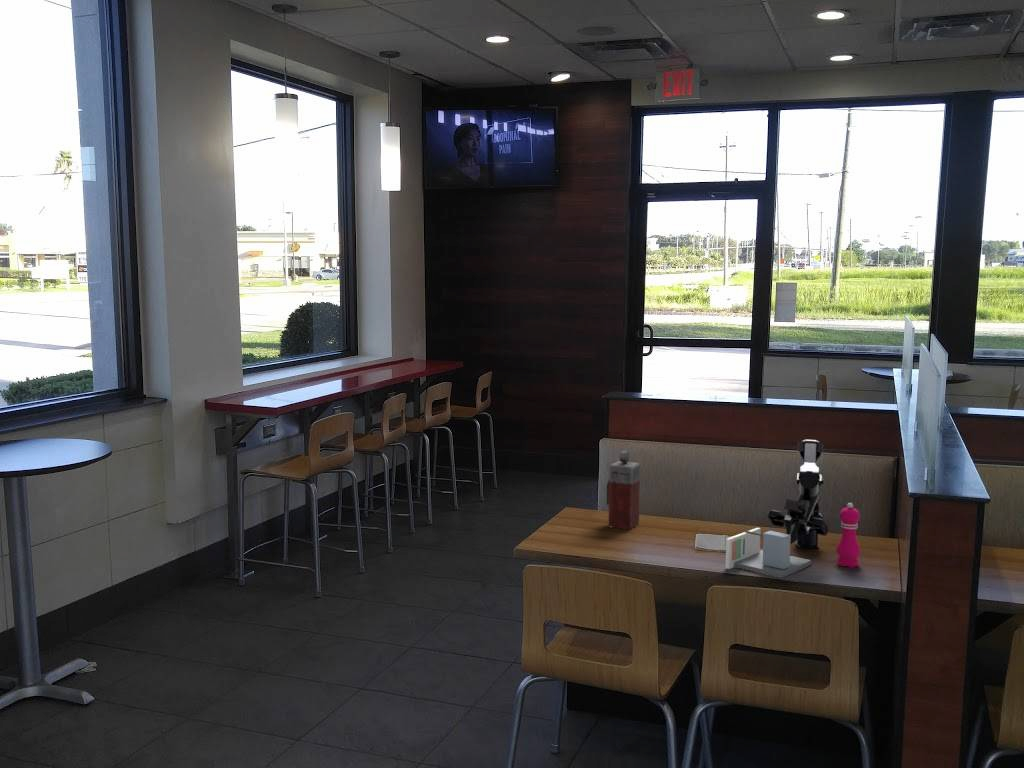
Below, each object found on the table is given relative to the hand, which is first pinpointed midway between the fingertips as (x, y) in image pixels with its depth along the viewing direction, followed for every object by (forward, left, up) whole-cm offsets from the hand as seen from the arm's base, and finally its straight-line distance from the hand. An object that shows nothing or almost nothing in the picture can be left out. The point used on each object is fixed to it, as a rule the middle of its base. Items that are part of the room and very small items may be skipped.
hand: (787, 544), depth 282 cm
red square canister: (+46, -51, -7) cm, 69 cm away
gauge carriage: (+7, +2, -5) cm, 9 cm away
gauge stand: (+6, 0, -7) cm, 9 cm away
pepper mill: (-20, -2, -7) cm, 21 cm away
